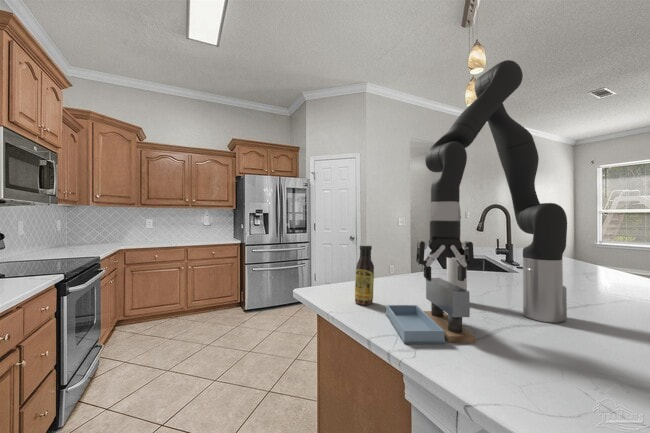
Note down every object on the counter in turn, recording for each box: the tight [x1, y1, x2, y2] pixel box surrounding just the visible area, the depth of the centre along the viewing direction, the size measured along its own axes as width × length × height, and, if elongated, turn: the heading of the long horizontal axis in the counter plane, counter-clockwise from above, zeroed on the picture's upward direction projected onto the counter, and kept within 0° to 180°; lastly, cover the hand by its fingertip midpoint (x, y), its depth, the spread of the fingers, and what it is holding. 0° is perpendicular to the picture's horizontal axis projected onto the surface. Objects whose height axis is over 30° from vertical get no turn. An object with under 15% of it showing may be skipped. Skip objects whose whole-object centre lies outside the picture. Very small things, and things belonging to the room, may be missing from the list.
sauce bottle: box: [354, 244, 375, 306], centre depth 97 cm, size 6×6×20 cm
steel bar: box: [425, 277, 471, 318], centre depth 75 cm, size 4×16×6 cm, turn 2°
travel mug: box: [446, 246, 468, 291], centre depth 97 cm, size 6×7×20 cm
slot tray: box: [385, 304, 446, 345], centre depth 74 cm, size 9×20×3 cm, turn 0°
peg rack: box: [423, 302, 476, 344], centre depth 74 cm, size 6×18×6 cm, turn 0°
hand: (444, 280), depth 75 cm, fingers open, 8 cm apart
